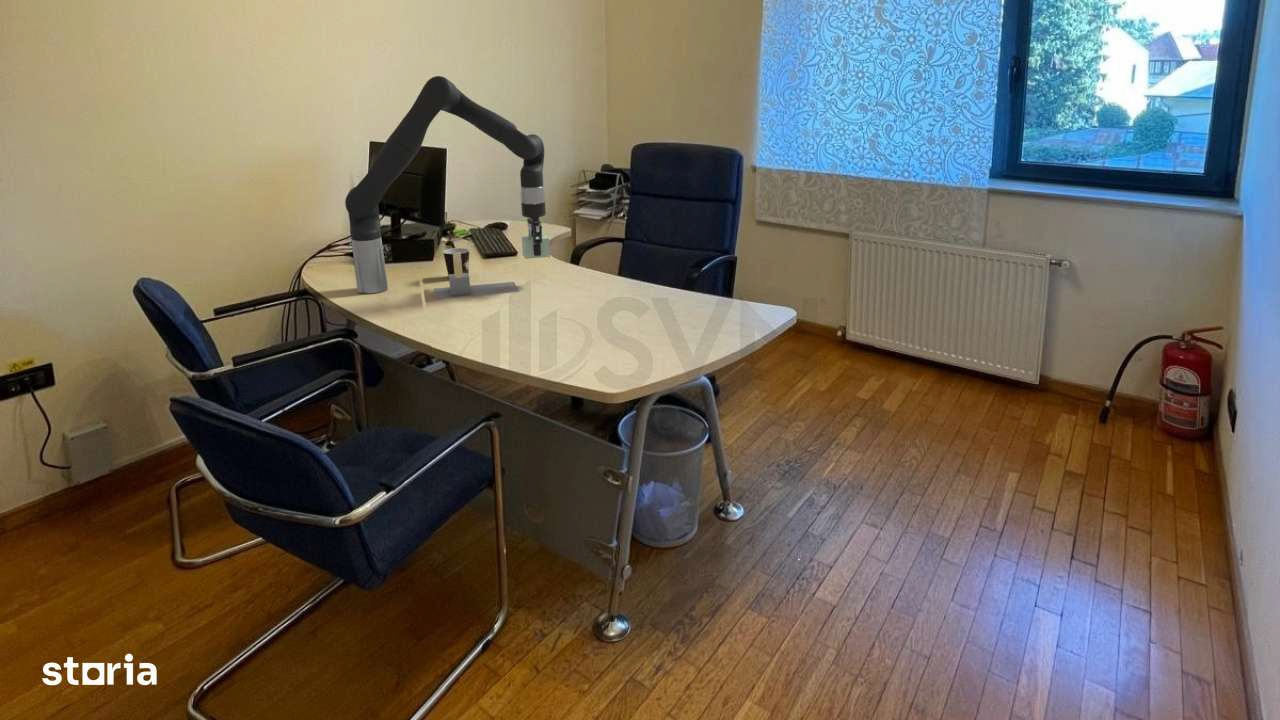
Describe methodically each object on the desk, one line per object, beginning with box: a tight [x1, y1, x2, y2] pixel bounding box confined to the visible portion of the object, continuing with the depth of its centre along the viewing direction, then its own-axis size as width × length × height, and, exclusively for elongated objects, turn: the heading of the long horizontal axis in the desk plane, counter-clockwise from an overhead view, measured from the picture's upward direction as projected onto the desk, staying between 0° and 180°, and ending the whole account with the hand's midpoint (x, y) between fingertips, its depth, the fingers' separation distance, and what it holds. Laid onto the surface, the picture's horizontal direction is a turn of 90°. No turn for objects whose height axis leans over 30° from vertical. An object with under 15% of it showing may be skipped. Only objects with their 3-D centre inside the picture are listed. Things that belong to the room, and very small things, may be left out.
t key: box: [453, 252, 463, 278], centre depth 253 cm, size 14×2×6 cm, turn 13°
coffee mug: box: [443, 247, 470, 277], centre depth 272 cm, size 12×9×10 cm
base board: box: [433, 273, 520, 300], centre depth 256 cm, size 26×12×6 cm, turn 106°
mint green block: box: [521, 234, 551, 260], centre depth 258 cm, size 8×5×6 cm, turn 106°
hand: (536, 253), depth 259 cm, fingers closed on mint green block, 5 cm apart
